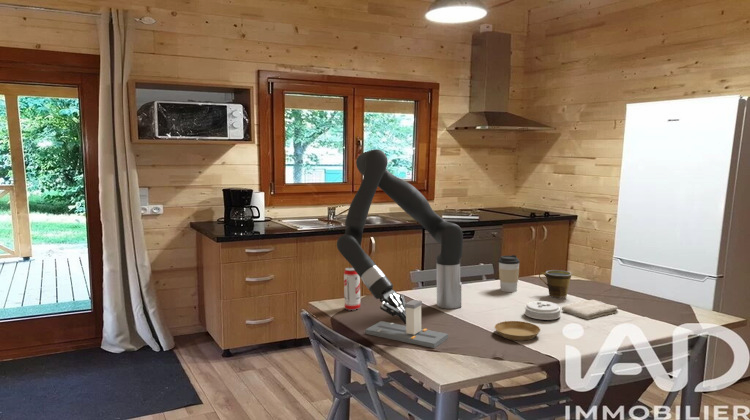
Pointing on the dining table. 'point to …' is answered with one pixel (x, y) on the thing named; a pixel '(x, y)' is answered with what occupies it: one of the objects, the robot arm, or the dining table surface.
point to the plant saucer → (517, 330)
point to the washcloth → (589, 309)
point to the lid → (542, 310)
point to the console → (400, 334)
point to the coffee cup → (508, 273)
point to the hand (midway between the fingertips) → (408, 322)
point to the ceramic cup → (557, 283)
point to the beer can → (351, 289)
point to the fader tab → (413, 316)
